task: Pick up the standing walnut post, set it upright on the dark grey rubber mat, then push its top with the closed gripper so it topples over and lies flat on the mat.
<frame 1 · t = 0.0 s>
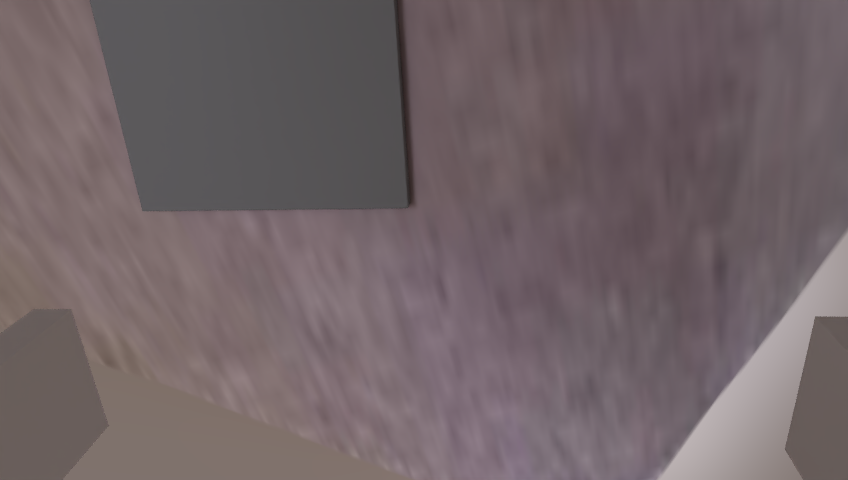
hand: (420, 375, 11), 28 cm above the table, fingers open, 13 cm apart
mat: (249, 31, 37), on the table
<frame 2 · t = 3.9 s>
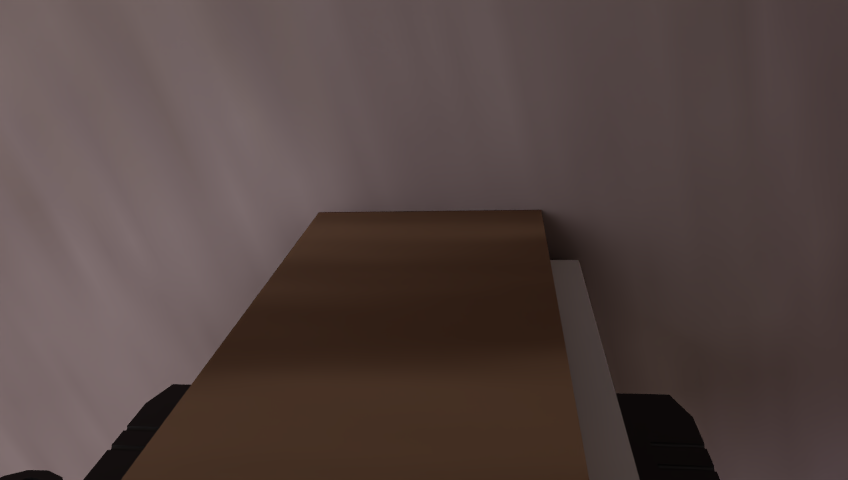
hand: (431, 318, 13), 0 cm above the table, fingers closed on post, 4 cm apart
post: (432, 308, 13), on the table, touching gripper
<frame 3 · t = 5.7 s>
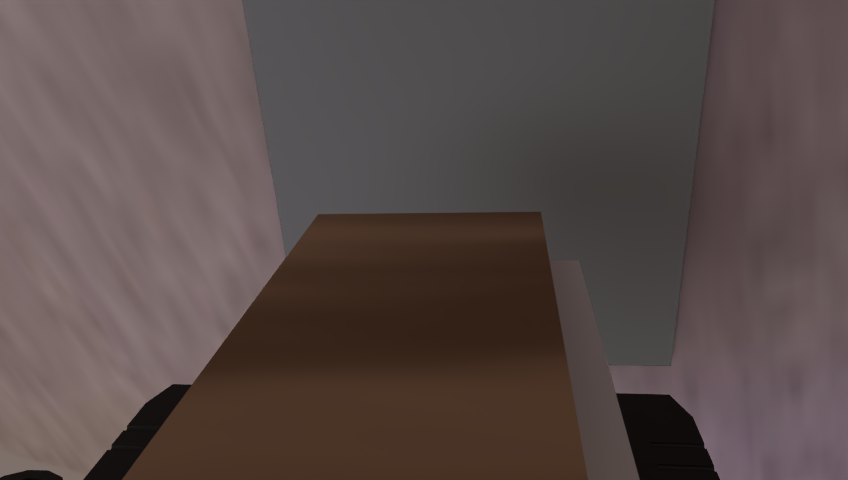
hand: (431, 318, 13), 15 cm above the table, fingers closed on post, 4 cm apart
post: (432, 310, 13), point 15 cm above the table, touching gripper
mat: (474, 139, 27), on the table
when the fingers open (2 cm above the table, at t = 7.8 s): post drops 1 cm, resting on mat.
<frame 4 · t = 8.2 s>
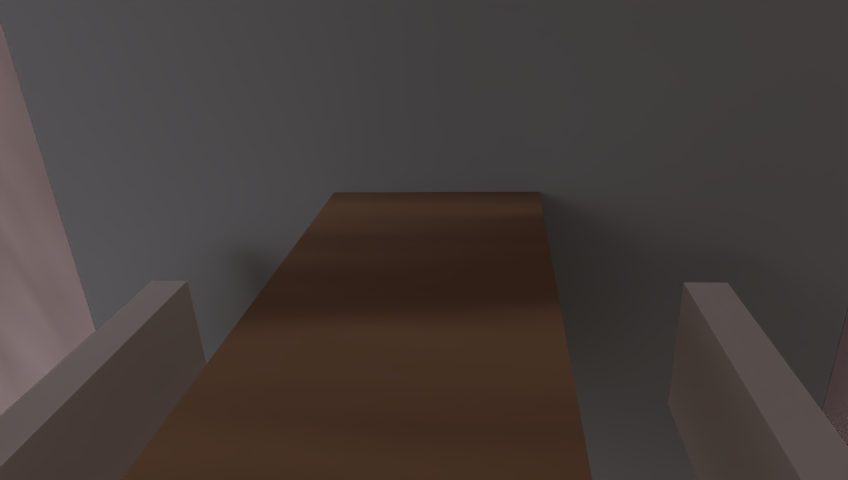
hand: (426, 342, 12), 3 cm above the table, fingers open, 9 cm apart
post: (437, 283, 14), point 1 cm above the table, touching mat
mat: (441, 266, 15), on the table
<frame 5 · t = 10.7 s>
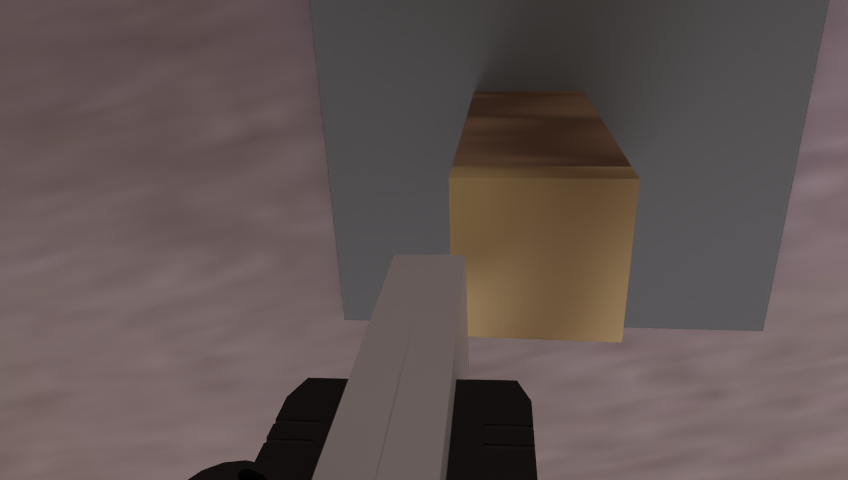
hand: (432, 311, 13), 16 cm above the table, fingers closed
post: (526, 144, 26), point 1 cm above the table, touching mat
mat: (526, 138, 27), on the table
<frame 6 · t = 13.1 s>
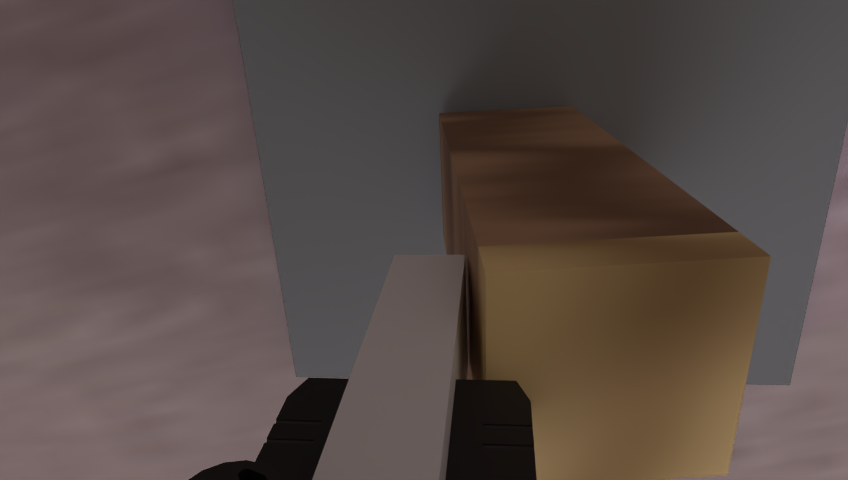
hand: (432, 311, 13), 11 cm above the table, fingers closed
post: (505, 173, 21), point 1 cm above the table, tilted 8°, touching gripper, mat
mat: (505, 163, 23), on the table
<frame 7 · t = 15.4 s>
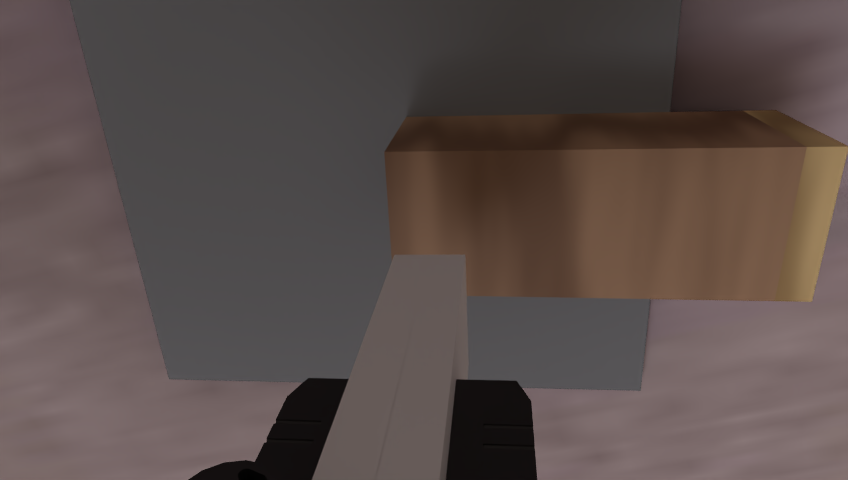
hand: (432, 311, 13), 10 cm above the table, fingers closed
post: (400, 200, 20), point 3 cm above the table, tilted 90°, touching mat
mat: (354, 171, 23), on the table
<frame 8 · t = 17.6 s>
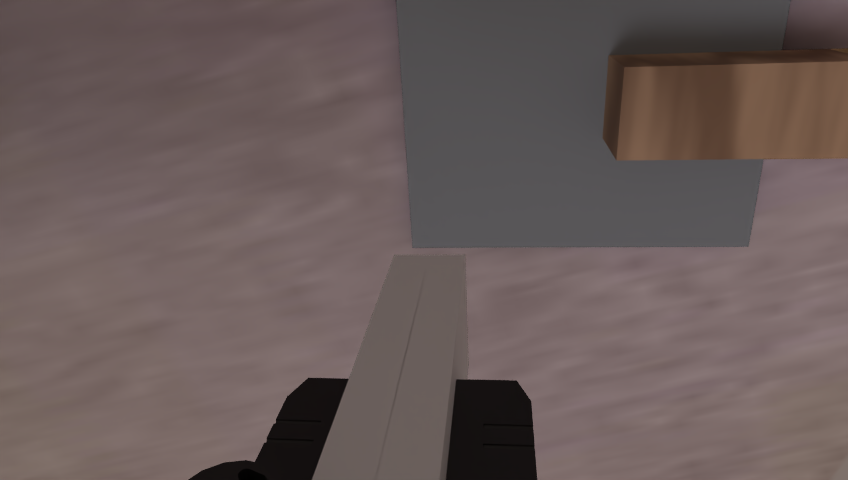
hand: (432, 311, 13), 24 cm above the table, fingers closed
post: (612, 105, 32), point 3 cm above the table, tilted 90°, touching mat
mat: (561, 95, 35), on the table
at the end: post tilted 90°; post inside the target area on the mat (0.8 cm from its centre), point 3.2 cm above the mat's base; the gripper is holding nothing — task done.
